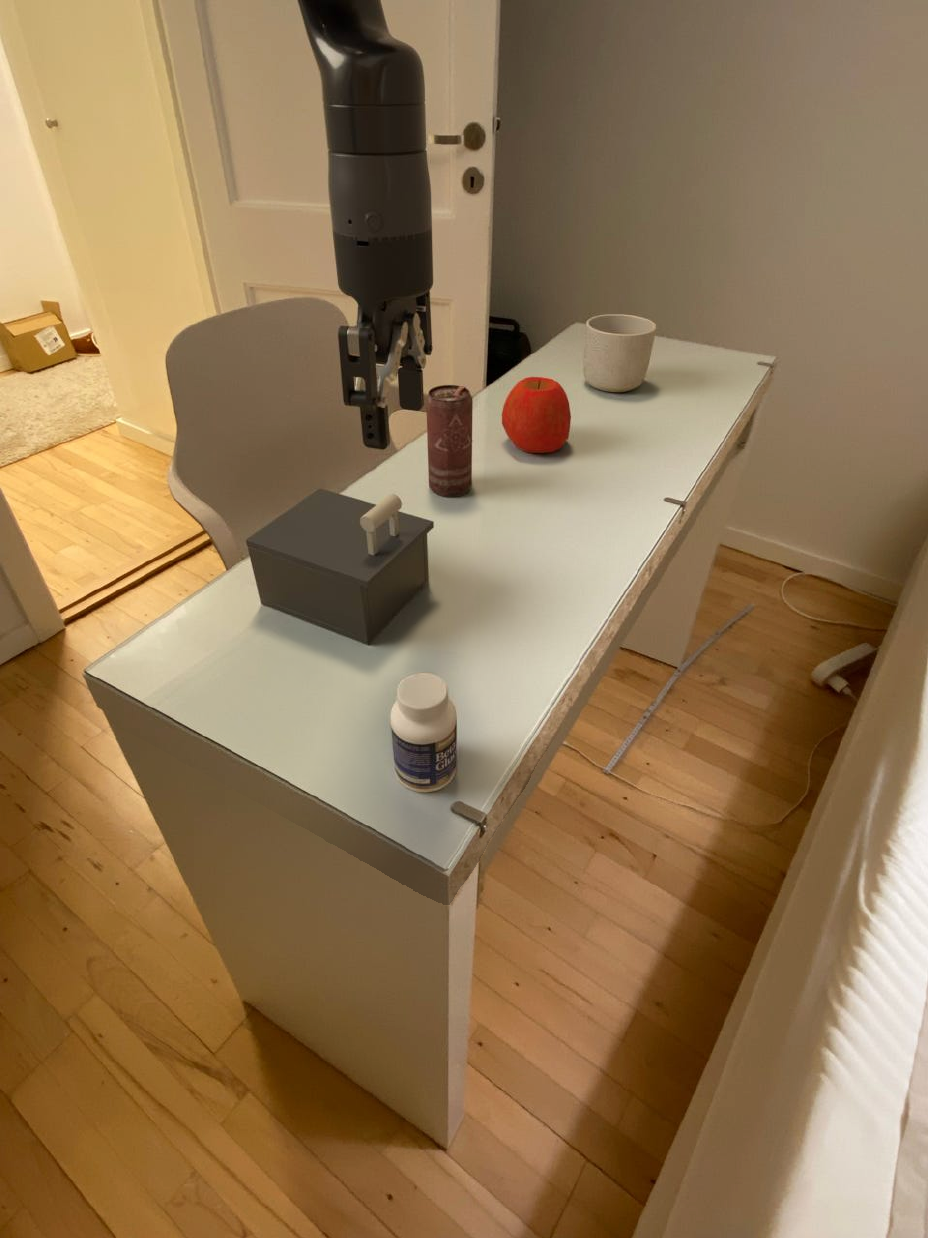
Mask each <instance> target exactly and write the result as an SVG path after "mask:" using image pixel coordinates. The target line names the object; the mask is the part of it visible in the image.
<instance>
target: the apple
mask: <svg viewBox="0 0 928 1238" xmlns="http://www.w3.org/2000/svg"><path fill="white" fill-rule="evenodd" d="M571 422H572V415H571V407H570V401H569V398H568V395H567V392H566V391H565V389H564V387H562V385H561V384H560V383H559V382H558V381H556V380H554V379H553V378H549V377H542V376H529V377H524V378H522V379H521V380H520V381H518V382H517V383H516V384H515V385H514V386H513V387H512V389H511V390H510V391H509V393H508V395H507V397H506V399H505V401H504V403H503V407H502V411H501V425H502V427H503V429H504V431H505V433H506V436H507V437H508V439H509V440H510V442H512V444H513V445H514V446H515V447H516V448H518V449H520V450H521V451H523V452H526V453H531V454H545V453H554V452H556V451H558V450H559V449H561V448H562V447H563V446H564V445H565V443H566V442H567V440H568V439H569V434H570V430H571Z"/></svg>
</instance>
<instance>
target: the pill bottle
mask: <svg viewBox="0 0 928 1238" xmlns="http://www.w3.org/2000/svg"><path fill="white" fill-rule="evenodd" d="M447 685H448V684H447V683H446V682H445V681H444V679H443V678H441V677H440V676H438V675H436V674H433V673H429V672H419V673H414V674H411V675H408V676H406V677H405V678H403V679H402V680H401V681H400V683H399V684H398V686H397V689H396V701H395V702H394V704H393V706H392V708H391V710H390V716H389V717H390V718H389V720H390V722H389V723H390V732H391V744H392V757H393V765H394V771H395V776H396V778H397V779H398V781H399V783H401V784H402V785H403V787H405V788H406V789H409V790H410V791H413V792H418V793H431V792H436V791H439V790H440V789H443V788H445V787H446V786H448V784H450V782H451V781H452V780H453V778H454V777H455V775H456V771H457V766H458V747H457V746H458V717H457V710H456V706H455V704H454V703H453V701H452V700H451V699H450V698H449V689H448V686H447Z"/></svg>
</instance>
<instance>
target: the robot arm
mask: <svg viewBox="0 0 928 1238" xmlns="http://www.w3.org/2000/svg"><path fill="white" fill-rule="evenodd" d="M296 1H297V4H298V8H299V12H300V15H301V18H302V21H303V25H304V29H305V33H306V36H307V39H308V42H309V45H310V48H311V51H312V54H313V57H314V60H315V63H316V67H317V70H318V73H319V78H320V84H321V85H320V86H321V87H320V88H321V100H322V111H323V121H324V129H325V130H324V131H325V141H326V149H327V191H328V202H329V203H328V204H329V211H330V220H331V230H332V231H331V232H332V241H333V249H334V259H335V268H336V277H337V278H336V279H337V286H338V289H339V290H340V291H341V292H342V293H343V294H344V295H346V296H348V297H351V298H352V299H353V300H354V301H355V302H356V303H357V316H356V317H357V318H356V324H355V325H354V326H353V325H339V328H338V331H337V339H338V351H339V360H340V361H339V364H340V375H341V387H342V388H341V389H342V400H343V404H344V406H347V407H357V408H359V413H360V414H359V415H360V423H361V432H362V434H361V435H362V442H363V445H364V446H365V447H366V448H369V449H375V450H380V451H381V450H383V451H384V450H386V449H387V448H388V447H389V446H390V444H391V436H390V435H391V433H390V422H389V408H388V404H387V403H388V399H389V398H388V397H389V392H390V387H391V383H392V382H394V381H396V379H397V380H398V381H397V382H398V383H397V384H398V402H399V407H400V408H401V409H402V410H405V411H412V412H413V411H414V412H419V411H421V410H422V409H423V408H424V406H425V396H424V393H425V392H424V371H423V370H424V369H425V368H426V365H427V357H426V356H431V355H432V352H433V349H434V348H433V333H432V332H433V330H432V311H431V310H432V309H431V290H432V288H433V286H434V260H433V259H434V258H433V257H434V254H433V251H434V249H433V211H432V185H431V177H430V171H429V163H428V162H429V161H428V151H427V119H426V85H425V84H426V83H425V72H424V66H423V61H422V59H421V57H420V54H419V53H418V51H417V50H416V49H415V48H414V47H413V46H411V45H410V44H408V43H406V42H404V41H401V40H399V39H397V38H395V37H393V35H392V34H391V32H390V31H389V27H388V24H387V20H386V16H385V12H384V10H383V5H382V1H381V0H296ZM355 378H356V379H355ZM355 380H356V381H355Z"/></svg>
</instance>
